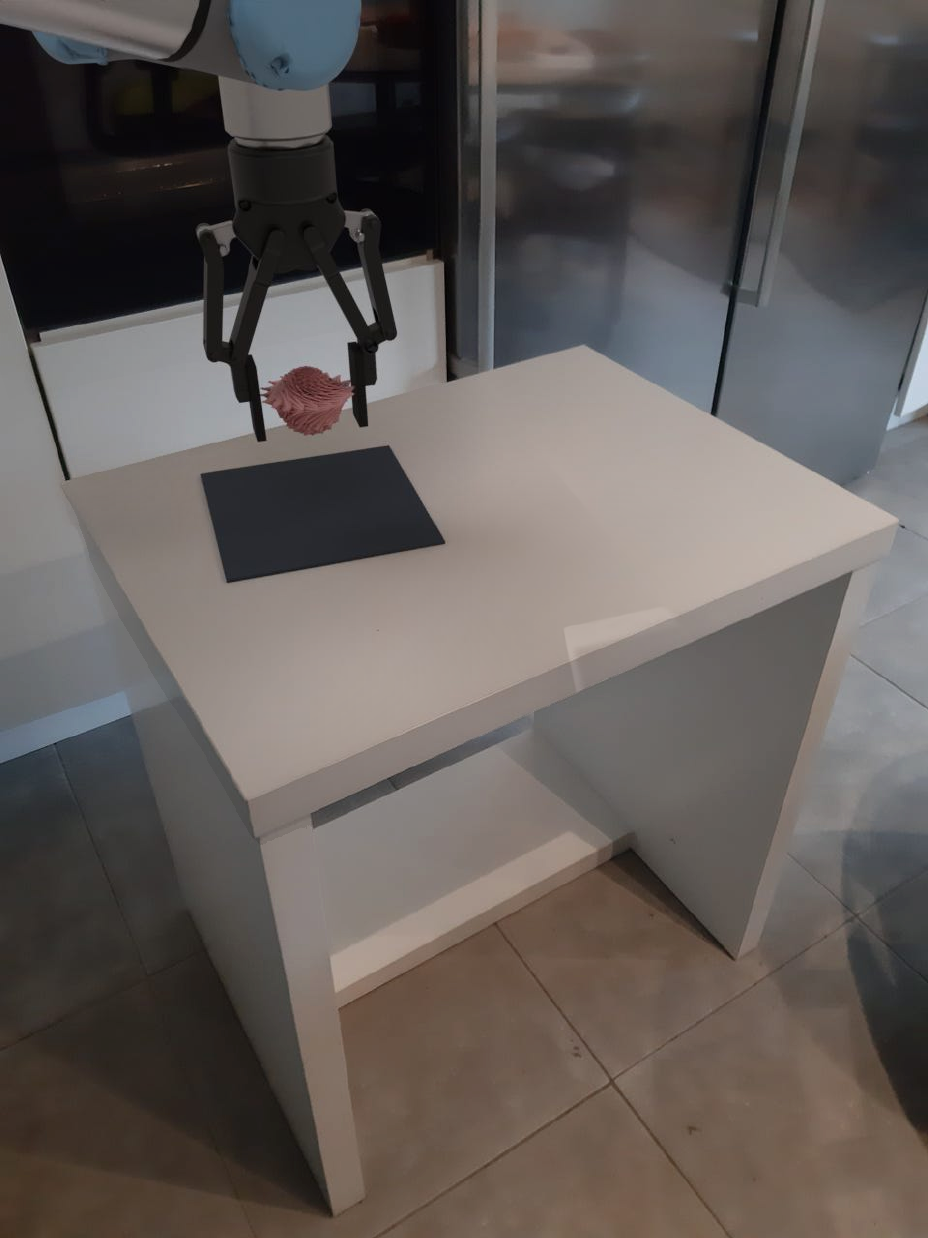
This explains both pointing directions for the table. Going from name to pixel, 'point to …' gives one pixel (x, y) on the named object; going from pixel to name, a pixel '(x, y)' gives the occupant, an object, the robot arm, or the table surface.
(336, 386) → the flower
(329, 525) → the mat
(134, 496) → the table surface
